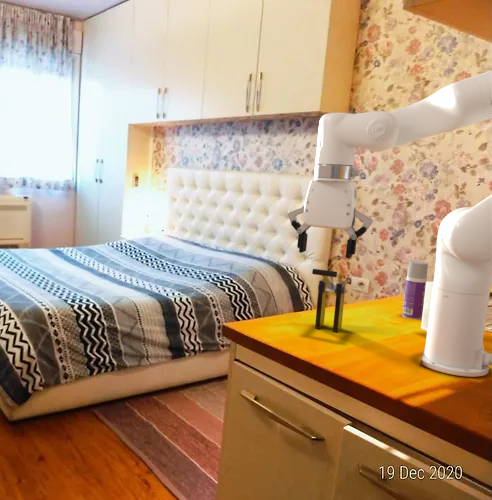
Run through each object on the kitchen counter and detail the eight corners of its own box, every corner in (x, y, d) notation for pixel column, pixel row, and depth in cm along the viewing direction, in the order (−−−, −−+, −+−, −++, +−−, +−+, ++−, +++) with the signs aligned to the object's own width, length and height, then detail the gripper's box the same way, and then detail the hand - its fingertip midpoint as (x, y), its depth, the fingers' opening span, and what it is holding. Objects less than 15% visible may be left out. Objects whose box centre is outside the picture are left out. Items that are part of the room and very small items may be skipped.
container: (424, 320, 134) (431, 264, 132) (405, 319, 135) (411, 263, 133) (418, 315, 139) (425, 261, 136) (400, 314, 140) (406, 260, 137)
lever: (335, 278, 108) (337, 268, 109) (311, 275, 111) (313, 265, 111) (343, 297, 118) (345, 287, 118) (320, 293, 120) (322, 284, 121)
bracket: (340, 343, 114) (346, 287, 112) (304, 336, 118) (309, 282, 116) (349, 332, 122) (355, 279, 120) (315, 326, 126) (320, 275, 124)
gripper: (380, 176, 106) (371, 257, 108) (297, 172, 115) (290, 248, 117) (375, 175, 99) (365, 262, 102) (286, 172, 108) (279, 251, 111)
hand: (325, 254), depth 110 cm, fingers open, 9 cm apart
